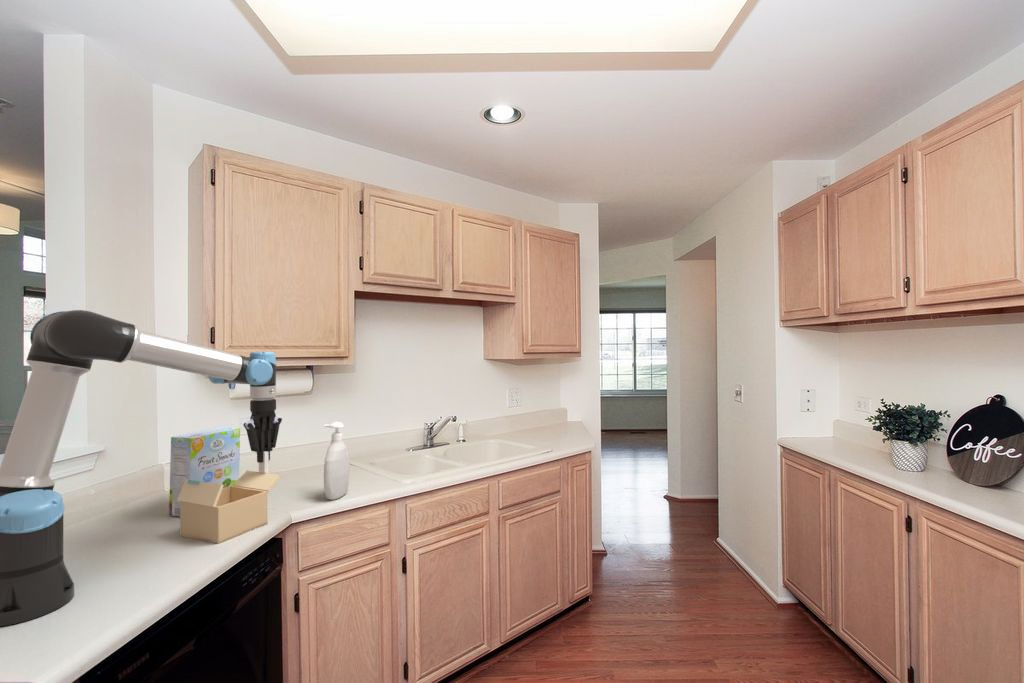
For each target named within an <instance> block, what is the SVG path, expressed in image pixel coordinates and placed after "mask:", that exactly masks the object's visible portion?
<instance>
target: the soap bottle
mask: <svg viewBox="0 0 1024 683" xmlns="http://www.w3.org/2000/svg"><path fill="white" fill-rule="evenodd" d="M323 426H324V428H330V429H335V430H334V432H332V434H331V441H330V444H329V446H328V448H327V450H326V455H325V458H324V465H323V490H324V494H325V496H326V499H327V500H330V501H333V500H334V501H336V500H337V499H340V498H341V497H343V496H345V495H346V494H347V493H348V491H349V490H348V489H349V484H350V483H349V482H350V468H351V466H350V463H351V462H350V455H349V454H350V453H349V451H348V448H347V445H346V444H345V442H344V441H343V433H342V432H341V431H340V430H339V429H341V428H344V427H345V426H344V424H343V422H340V421H334V422H332V423H331V424H330V423H329V424H324V425H323ZM339 431H340V432H339Z"/></svg>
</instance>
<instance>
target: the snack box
mask: <svg viewBox="0 0 1024 683" xmlns="http://www.w3.org/2000/svg"><path fill="white" fill-rule="evenodd" d="M240 448H241V428H240V427H236V426H219V427H214V428H208V429H204V430H198V431H194V432H193V431H192V432H190V433H189V432H188V433H185V434H179V435H174V436H171V437H170V460H169V461H170V463H169V464H170V465H169V466H170V468H169V470H170V471H169V496H168V497H169V502H168V505H169V506H168V507H169V508H168V509H169V510H168V515H169V516H170V517H180V501H178V500H177V499H178V497H179V495H180V492H181V490H182V487H183V485H184V482H185V480H186V479H189V480H196V481H202V482H209V483H215V484H222V485H224V486H223V488H225V487H229V486H234V484H235V483H236V482H237V481H238V479H239V478H240V457H241V456H240V455H241V454H240V451H241V450H240Z"/></svg>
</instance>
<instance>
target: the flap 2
mask: <svg viewBox="0 0 1024 683" xmlns="http://www.w3.org/2000/svg"><path fill="white" fill-rule="evenodd" d="M280 479H282V475H281V474H275V473H270V472H266V473H263V472H259V471H253V470H246V471H244V472H243V474H242V475H241V476H239V479H238V481H237V482H236V483H235V484H234V486H235V487H242V488H249V489H255V490H262V491H267V493H269V492H271V490H272V489H273V488H274V487H275V485H276V484H277V483H278V482H279V480H280Z"/></svg>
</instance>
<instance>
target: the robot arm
mask: <svg viewBox="0 0 1024 683" xmlns="http://www.w3.org/2000/svg"><path fill="white" fill-rule="evenodd" d="M29 339H30V344H31V346H30V348H29V352H28V354H27V358H26V360H25V361H26V363H27V364H28V365H29V367H31V372H30V377H29V379H28V383H27V385H26V388H25V392H24V394H23V396H22V400H21V404H20V406H19V409H18V412H17V415H16V418H15V421H14V424H13V426H12V430H11V433H10V437H9V439H8V442H7V445H6V448H5V450H4V451H5V452H4V454H3V457H2V461H1V463H0V627H5V626H10V625H14V624H15V625H16V624H19V623H24V622H27V621H29V620H33V619H36V618H39V617H42V616H45V615H47V614H49V613H52V612H54V611H56V610H58V609H60V608H62V607H63V606H65V605H67V604H68V603H69V602H71V600H73V598H74V597H75V583H74V581H73V579H72V577H71V575H70V572H69V571H68V568H67V566H66V563H65V562H64V513H65V503H64V501H63V500H64V499H63V496H62V495H61V493H59V492H58V491H56V490H54V488H55V484H56V482H55V481H54V480H53V479H52V478H51V477H50V472H51V470H52V467H53V464H54V460H55V457H56V454H57V450H58V447H59V444H60V440H61V437H62V435H63V431H64V428H65V425H66V422H67V418H68V415H69V413H70V409H71V406H72V403H73V399H74V397H75V392H76V390H77V387H78V384H79V380H80V378H81V376H82V375H84V374H86V373H88V372H90V371H91V370H92V369H91V368H92V365H93V361H95V360H97V361H98V360H99V361H108V362H115V363H120V364H122V363H124V362H126V361H131V362H137V363H142V364H146V365H151V366H156V367H161V368H167V369H172V370H175V371H176V370H177V371H181V372H185V373H186V372H187V373H192V374H195V375H196V374H197V375H203V376H207V377H208V379H209V381H210V382H211V383H212V384H216V385H217V384H221V385H223V384H237V385H238V384H239V385H249V398H250V399H251V400H250V401H249V410H250V413H251V415H250V419H249V421H248V422H244V423H243V427H244V429H245V431H246V433H247V439H248V444H249V448H250V451H251V452H255V453H256V462H257V463H258V472H262V473H270V472H269V470H270V469H269V468H270V467H269V463H270V462H269V461H270V460H271V452H272V451H273V450H274V449H275V448H276V445H277V440H278V435H279V430H280V425H281V424H282V422H283V418H282V417H278V416H277V413H276V410H277V399H275V398H276V397H277V360H276V359H277V358H276V353H275V352H274V351H251V352H250V353H249V356H244V355H240V354H236V353H232V352H228V351H224V350H220V349H215V348H213V347H209V346H205V345H199V344H196V343H193V342H187V341H184V340H179V339H175V338H171V337H166V336H162V335H160V334H156V333H152V332H148V331H143V330H140V329H138V327H137V325H135V324H132V323H128V322H125V321H121V320H118V319H115V318H111V317H108V316H106V315H103V314H100V313H96V312H93V311H90V310H84V309H72V310H62V311H57V312H51V313H50V314H47V315H45V316H43V317H41V319H39V320H38V321H37V322H35V323H34V325H33V327H32V328H31V331H30V336H29Z"/></svg>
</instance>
